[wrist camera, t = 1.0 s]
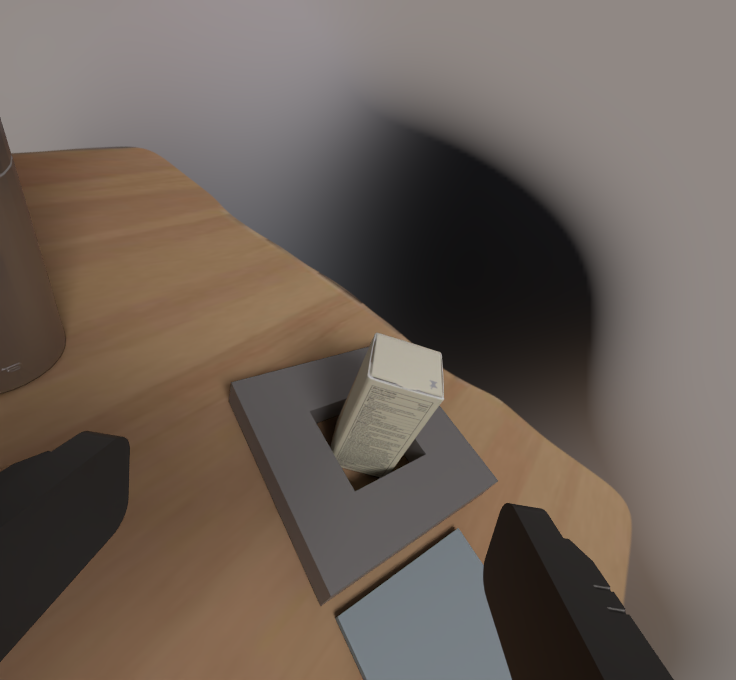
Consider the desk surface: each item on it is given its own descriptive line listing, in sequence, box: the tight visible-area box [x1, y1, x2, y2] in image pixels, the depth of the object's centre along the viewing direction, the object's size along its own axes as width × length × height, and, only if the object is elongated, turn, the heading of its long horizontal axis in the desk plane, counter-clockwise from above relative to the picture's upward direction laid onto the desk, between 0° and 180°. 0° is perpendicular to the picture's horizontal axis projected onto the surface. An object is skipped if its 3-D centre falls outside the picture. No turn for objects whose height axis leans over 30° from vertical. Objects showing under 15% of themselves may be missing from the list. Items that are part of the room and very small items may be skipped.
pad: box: [336, 529, 512, 680], centre depth 24 cm, size 10×11×1 cm
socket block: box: [229, 347, 498, 606], centre depth 31 cm, size 16×16×2 cm
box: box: [330, 333, 444, 478], centre depth 28 cm, size 5×4×11 cm
